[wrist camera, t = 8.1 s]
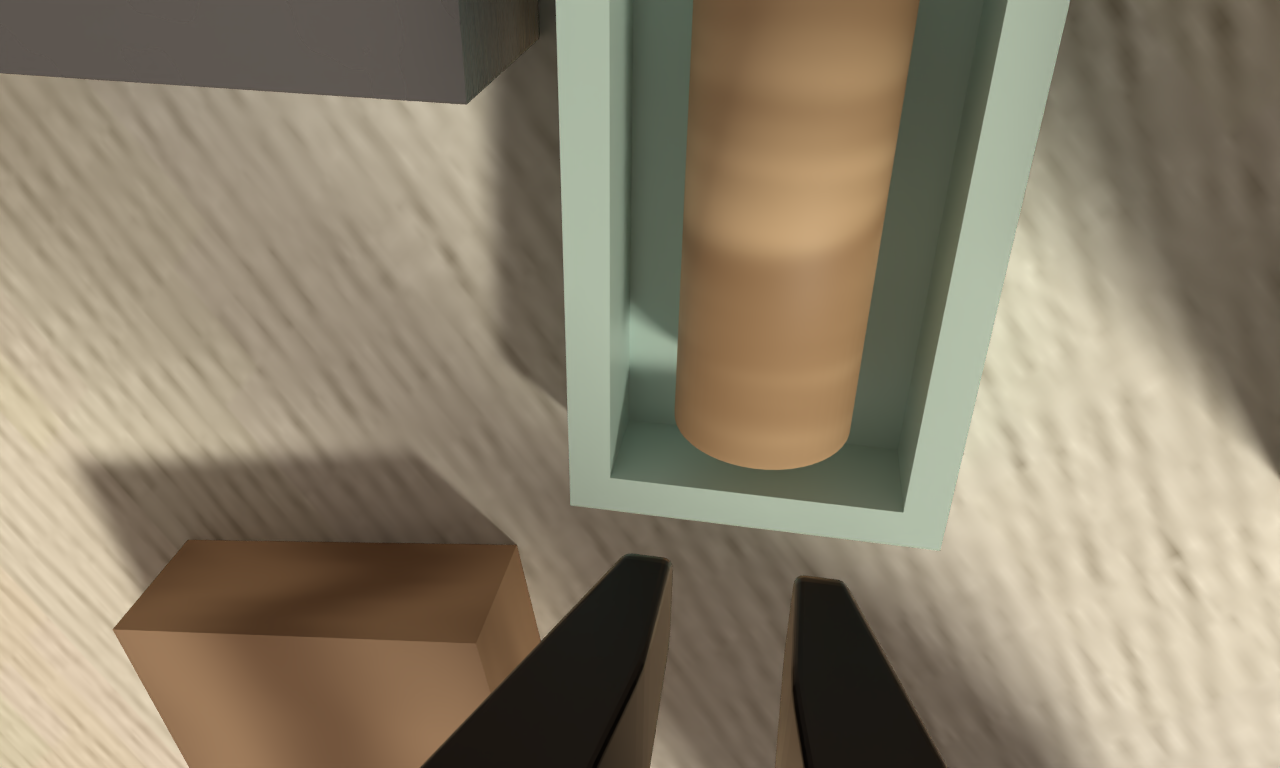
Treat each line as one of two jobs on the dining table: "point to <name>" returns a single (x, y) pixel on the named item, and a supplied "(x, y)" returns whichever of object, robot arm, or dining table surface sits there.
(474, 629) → the slab
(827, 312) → the roller
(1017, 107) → the cradle
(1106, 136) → the dining table surface
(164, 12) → the rail
